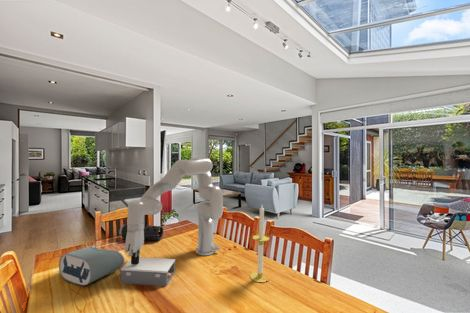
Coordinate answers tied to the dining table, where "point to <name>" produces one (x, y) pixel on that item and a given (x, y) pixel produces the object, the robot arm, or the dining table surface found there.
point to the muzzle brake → (145, 232)
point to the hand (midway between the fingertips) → (135, 263)
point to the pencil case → (89, 264)
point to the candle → (260, 248)
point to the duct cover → (150, 265)
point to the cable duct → (147, 277)
